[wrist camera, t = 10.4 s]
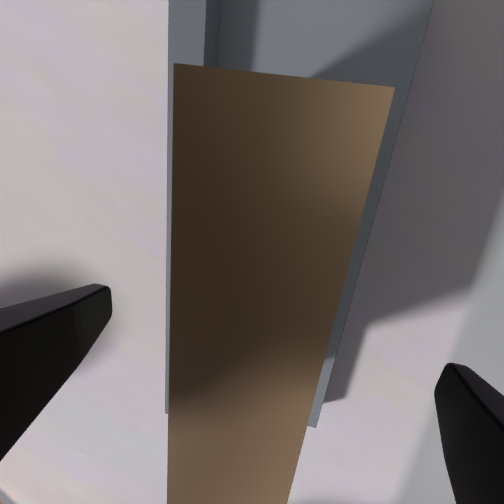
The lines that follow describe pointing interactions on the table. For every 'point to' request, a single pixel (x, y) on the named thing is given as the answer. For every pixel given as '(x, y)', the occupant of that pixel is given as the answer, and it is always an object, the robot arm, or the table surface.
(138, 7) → the table surface
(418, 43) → the ledge
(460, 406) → the robot arm
